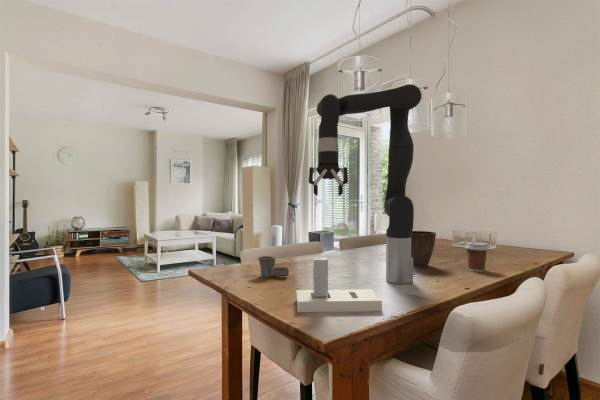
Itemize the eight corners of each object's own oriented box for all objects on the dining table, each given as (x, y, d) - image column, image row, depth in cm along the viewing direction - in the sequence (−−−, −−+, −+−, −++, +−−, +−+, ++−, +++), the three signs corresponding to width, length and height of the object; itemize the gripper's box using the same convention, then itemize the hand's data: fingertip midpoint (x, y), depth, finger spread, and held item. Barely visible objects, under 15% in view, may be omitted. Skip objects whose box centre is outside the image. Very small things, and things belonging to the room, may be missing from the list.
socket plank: (371, 298, 100) (371, 289, 100) (382, 311, 89) (382, 300, 89) (296, 299, 99) (296, 290, 99) (297, 312, 88) (297, 301, 88)
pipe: (286, 279, 124) (286, 259, 124) (255, 277, 127) (255, 258, 127) (289, 275, 130) (289, 256, 130) (260, 274, 133) (260, 255, 133)
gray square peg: (326, 303, 96) (326, 257, 96) (327, 307, 92) (327, 260, 92) (313, 303, 96) (313, 257, 96) (314, 307, 92) (314, 260, 92)
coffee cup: (491, 272, 135) (491, 245, 135) (467, 271, 137) (467, 244, 137) (485, 268, 144) (485, 242, 144) (463, 267, 146) (463, 241, 146)
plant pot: (396, 264, 152) (396, 231, 152) (417, 261, 160) (417, 230, 160) (421, 270, 139) (421, 234, 139) (443, 266, 147) (443, 232, 147)
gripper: (309, 149, 111) (309, 195, 111) (349, 150, 111) (349, 195, 111) (308, 152, 118) (308, 195, 118) (345, 153, 119) (345, 195, 119)
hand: (328, 195), depth 115 cm, fingers open, 8 cm apart
